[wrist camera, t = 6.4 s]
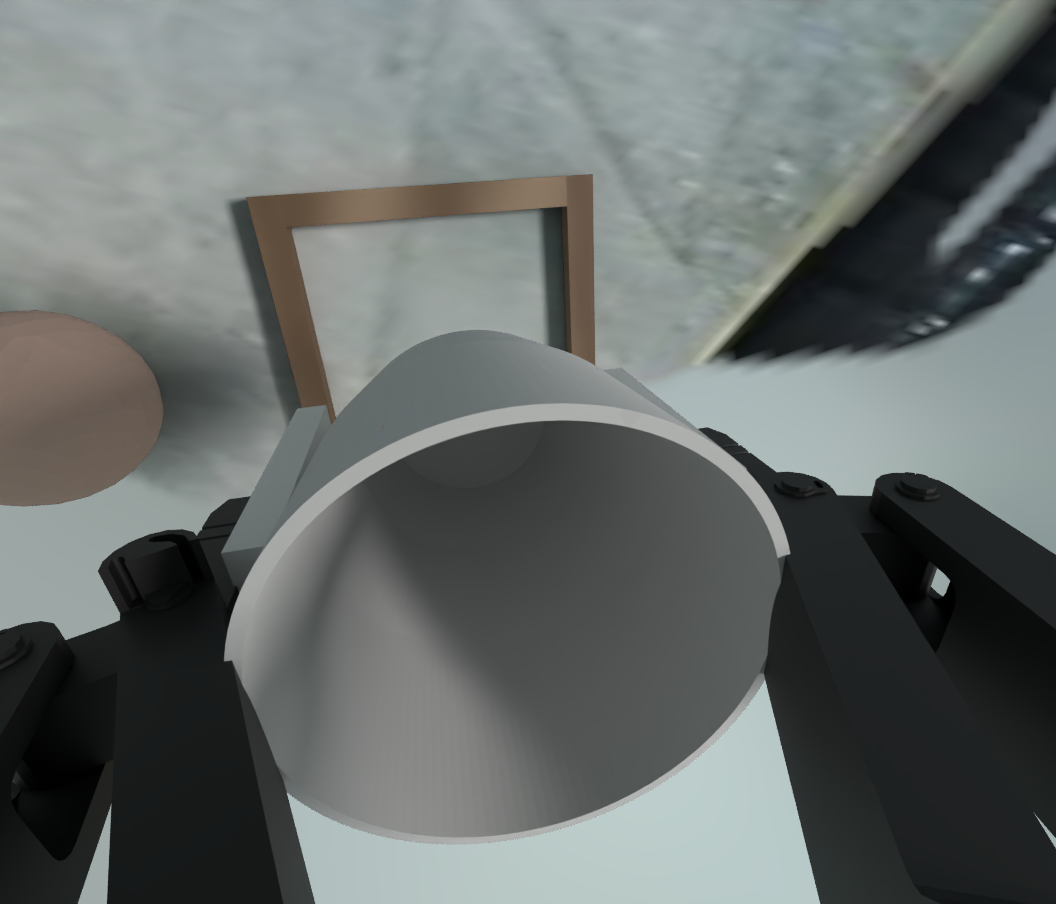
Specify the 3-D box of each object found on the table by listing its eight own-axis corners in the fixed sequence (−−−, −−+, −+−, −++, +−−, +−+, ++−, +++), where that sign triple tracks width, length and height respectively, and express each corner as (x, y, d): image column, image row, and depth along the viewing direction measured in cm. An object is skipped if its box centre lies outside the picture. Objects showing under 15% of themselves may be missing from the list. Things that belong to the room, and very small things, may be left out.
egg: (-2, 428, 24) (-190, 528, 16) (6, 270, 21) (-208, 302, 14) (178, 468, 26) (85, 572, 19) (202, 329, 24) (108, 385, 16)
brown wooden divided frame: (377, 676, 34) (376, 689, 33) (252, 197, 22) (245, 197, 21) (593, 632, 36) (598, 643, 35) (586, 175, 24) (592, 174, 23)
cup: (392, 558, 18) (376, 902, 9) (278, 333, 14) (70, 550, 6) (614, 481, 19) (800, 738, 10) (560, 243, 15) (783, 310, 6)
